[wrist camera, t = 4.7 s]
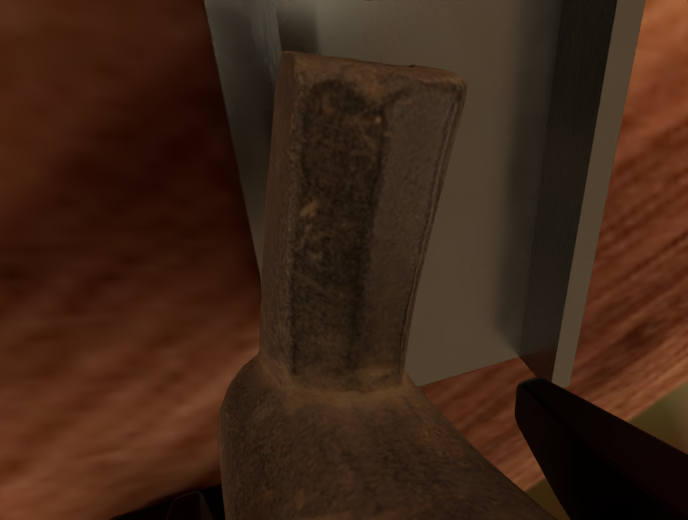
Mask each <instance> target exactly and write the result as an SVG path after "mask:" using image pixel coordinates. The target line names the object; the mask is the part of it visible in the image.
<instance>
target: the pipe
mask: <svg viewBox="0 0 688 520" xmlns="http://www.w3.org/2000/svg"><path fill="white" fill-rule="evenodd" d="M466 92H467V83H466V81H465V80H464V79H463V78H462V77H460V76H459V75H457V74H456V73H453V72H450V71H447V70H443V69H438V68H433V67H426V66H420V65H414V64H413V65H409V66H399V65H392V64H386V63H381V62H372V61H363V60H357V59H353V58H343V57H331V56H323V55H314V54H308V53H301V52H293V51H284V52H282V54H281V59H280V65H279V70H278V75H277V81H276V89H275V100H274V111H273V124H272V136H271V149H270V160H269V171H268V182H267V195H266V213H265V230H264V246H263V260H262V277H261V288H262V301H261V306H260V350H259V352H258V355H256V356H255V357H254V358H253V359H252V360H250V361H249V362H248V363H247V364H245V365H244V366H243V367H242V369H241V370H240V371H239V372H238V374H237V375H236V377H235V378H234V379H233V381H232V382H231V384H230V386H229V387H228V390H227V392H226V395H225V398H224V400H223V403H222V406H221V409H220V417H219V424H218V432H217V444H218V454H219V462H220V471H221V483H222V493H223V501H224V510H225V518H226V520H557V519H556V518H555V517H553V516H552V515H551V514H550V513H548V512H547V511H546V510H545V509H543V508H542V507H541V506H540V505H539V504H538V503H536V502H535V501H534V500H533V499H532V498H531V497H529V496H528V495H527V494H526V493H525V492H524V491H522V490H521V489H520V488H519V487H518V486H517V485H515V484H514V483H513V482H512V481H511V480H510V479H509V478H507V477H506V476H505V475H504V474H503V473H502V472H501V471H499V470H498V469H497V468H496V467H495V466H494V465H493V464H491V463H490V462H489V461H488V460H487V459H486V458H485V457H484V456H483V455H482V454H481V453H480V452H479V451H478V450H477V449H476V448H475V447H474V446H473V445H472V444H471V443H470V442H469V441H468V440H467V439H466V438H465V437H464V436H463V435H462V434H461V433H460V432H459V431H458V430H457V429H456V428H455V427H454V425H453V424H452V423H451V422H450V421H449V420H448V419H447V418H446V417H445V416H444V415H443V414H442V413H441V412H440V411H439V410H438V409H437V408H436V407H435V406H434V405H433V404H432V403H431V402H430V401H429V399H428V398H427V397H426V396H425V395H424V394H423V393H422V392H421V390H420V389H419V388H418V387H417V386H416V385H415V384H414V382H413V381H412V380H411V378H410V377H409V375H408V374H407V372H406V371H405V361H406V354H407V346H408V340H409V334H410V328H411V322H412V316H413V310H414V305H415V300H416V295H417V290H418V286H419V282H420V278H421V273H422V269H423V265H424V261H425V257H426V253H427V248H428V244H429V240H430V236H431V231H432V227H433V223H434V219H435V215H436V211H437V207H438V203H439V200H440V196H441V192H442V188H443V184H444V180H445V176H446V172H447V168H448V164H449V160H450V156H451V152H452V148H453V144H454V140H455V137H456V133H457V130H458V126H459V123H460V119H461V116H462V112H463V108H464V104H465V100H466Z"/></svg>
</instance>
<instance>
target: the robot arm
mask: <svg viewBox="0 0 688 520" xmlns="http://www.w3.org/2000/svg"><path fill="white" fill-rule="evenodd" d="M515 418H516V422H517V424H518V427H519V429H520V431H521V432H522V434H523V436H524V438H525V440H526V442H527V444H528V445H529V447H530V449H531V451H532V453H533V455H534V457H535V458H536V460H537V462H538V464H539V466H540V468H541V470H542V471H543V473H544V475H545V477H546V479H547V481H548V483H549V484H550V486H551V488H552V490H553V492H554V494H555V495H556V497H557V499H558V501H559V502H560V504H561V506H562V507H563V509H564V510H565V512H566V513H567V515H568V517H569V518H570V520H688V454H686V453H684V452H682V451H680V450H679V449H677V448H675V447H673V446H671V445H669V444H667V443H665V442H664V441H662V440H660V439H658V438H656V437H654V436H652V435H650V434H648V433H647V432H645V431H643V430H641V429H639V428H637V427H635V426H633V425H632V424H630V423H628V422H626V421H624V420H622V419H620V418H618V417H616V416H615V415H613V414H611V413H609V412H607V411H605V410H603V409H601V408H600V407H598V406H596V405H594V404H592V403H590V402H588V401H586V400H584V399H583V398H581V397H579V396H577V395H575V394H573V393H571V392H569V391H567V390H566V389H564V388H562V387H560V386H558V385H556V384H554V383H552V382H551V381H549V380H547V379H545V378H542V377H534V378H531V379H528V380H525V381H522V382H520V383H519V384H518V386H517V391H516V403H515ZM118 520H226V518H225V510H224V501H223V493H222V487H220V488H217V489H214V490H210V491H207V492H204V493H201V492H200V491H194V492H191V493H188V494H185V495H182V496H179V497H177V498H175V499H174V501H173V502H172V503H169V504H166V505H163V506H159V507H156V508H153V509H150V510H147V511H143V512H140V513H137V514H134V515H131V516H127V517H124V518H121V519H118Z"/></svg>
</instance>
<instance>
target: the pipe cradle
mask: <svg viewBox="0 0 688 520" xmlns="http://www.w3.org/2000/svg"><path fill="white" fill-rule="evenodd" d="M202 2H203V7H204V12H205V17H206V22H207V27H208V32H209V36H210V41H211V46H212V51H213V56H214V61H215V66H216V70H217V75H218V80H219V85H220V90H221V95H222V100H223V104H224V109H225V114H226V119H227V124H228V129H229V134H230V138H231V143H232V148H233V153H234V158H235V163H236V168H237V173H238V177H239V182H240V187H241V192H242V197H243V202H244V207H245V211H246V216H247V221H248V226H249V231H250V236H251V241H252V245H253V250H254V255H255V260H256V265H257V270H258V275H259V279H260V284H261V277H262V260H263V246H264V230H265V213H266V195H267V182H268V171H269V160H270V149H271V136H272V124H273V111H274V100H275V89H276V81H277V75H278V70H279V65H280V59H281V54H282V52H284V51H293V52H301V53H308V54H314V55H323V56H331V57H343V58H353V59H357V60H363V61H372V62H381V63H386V64H392V65H399V66H409V65H413V64H414V65H420V66H426V67H433V68H438V69H443V70H447V71H450V72H453V73H456V74H457V75H459V76H460V77H462V78H463V79H464V80H465V81H466V83H467V92H466V100H465V104H464V108H463V112H462V116H461V119H460V123H459V126H458V130H457V133H456V137H455V140H454V144H453V148H452V152H451V156H450V160H449V164H448V168H447V172H446V176H445V180H444V184H443V188H442V192H441V196H440V200H439V203H438V207H437V211H436V215H435V219H434V223H433V227H432V231H431V236H430V240H429V244H428V248H427V253H426V257H425V261H424V265H423V269H422V273H421V278H420V282H419V286H418V290H417V295H416V300H415V305H414V310H413V316H412V322H411V328H410V334H409V340H408V346H407V354H406V361H405V371H406V372H407V374H408V375H409V377H410V378H411V380H412V381H413V382H414V384H415V385H416V386H417V387H419V386H422V385H425V384H429V383H432V382H435V381H439V380H442V379H445V378H449V377H452V376H456V375H459V374H462V373H466V372H469V371H472V370H476V369H479V368H482V367H486V366H489V365H493V364H496V363H499V362H503V361H506V360H509V359H513V358H516V357H520V358H521V359H522V360H523V362H524V363H525V364H526V365H527V366H528V367H529V369H530V370H531V371H532V372H533V373H534V374H535V376H536V377H542V378H545V379H547V380H549V381H551V382H552V383H554V384H556V385H558V386H560V387H562V388H565V387H568V386H569V384H570V379H571V374H572V369H573V364H574V359H575V354H576V349H577V344H578V339H579V334H580V329H581V324H582V319H583V313H584V308H585V303H586V298H587V293H588V288H589V283H590V278H591V273H592V268H593V263H594V258H595V253H596V248H597V243H598V238H599V233H600V228H601V223H602V217H603V212H604V207H605V202H606V197H607V192H608V187H609V182H610V177H611V172H612V167H613V162H614V157H615V152H616V147H617V142H618V137H619V132H620V127H621V122H622V116H623V111H624V106H625V101H626V96H627V91H628V86H629V81H630V76H631V71H632V66H633V61H634V56H635V51H636V46H637V41H638V36H639V31H640V26H641V21H642V15H643V10H644V5H645V0H202ZM261 289H262V288H261Z"/></svg>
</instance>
